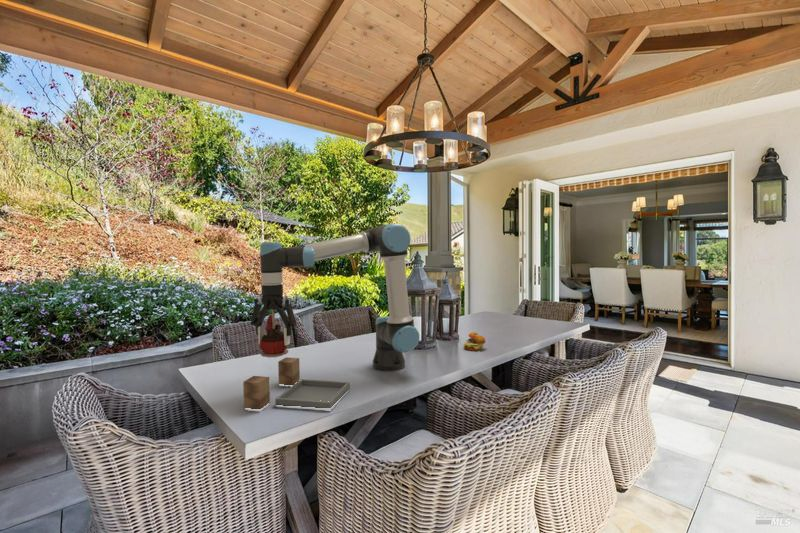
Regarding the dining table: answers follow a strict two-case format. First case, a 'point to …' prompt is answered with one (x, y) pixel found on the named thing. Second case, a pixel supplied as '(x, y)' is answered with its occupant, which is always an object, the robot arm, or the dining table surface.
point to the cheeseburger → (474, 342)
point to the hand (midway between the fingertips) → (274, 344)
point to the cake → (273, 339)
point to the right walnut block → (289, 371)
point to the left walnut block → (256, 392)
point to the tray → (313, 393)
